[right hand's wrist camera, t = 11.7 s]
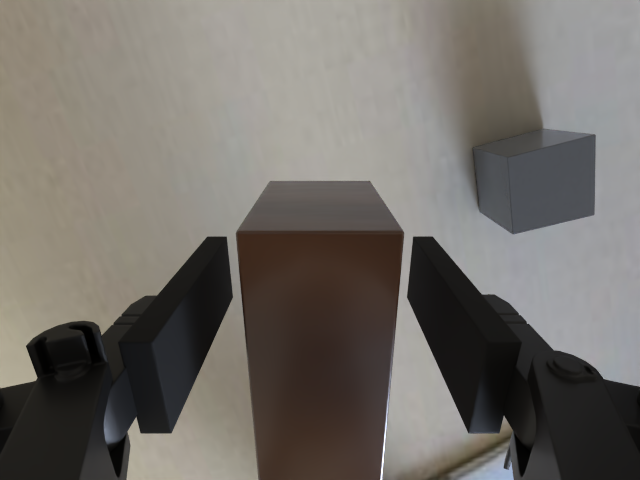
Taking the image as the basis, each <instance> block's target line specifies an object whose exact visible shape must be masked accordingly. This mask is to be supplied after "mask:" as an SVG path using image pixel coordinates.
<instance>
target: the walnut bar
mask: <svg viewBox="0 0 640 480" xmlns="http://www.w3.org/2000/svg"><path fill="white" fill-rule="evenodd" d="M236 240H237V251H238V262H239V273H240V284H241V294H242V305H243V316H244V327H245V338H246V349H247V360H248V371H249V381H250V392H251V403H252V414H253V425H254V436H255V447H256V458H257V469H258V479H259V480H382V474H383V463H384V452H385V441H386V430H387V419H388V408H389V396H390V385H391V374H392V363H393V352H394V341H395V330H396V318H397V307H398V296H399V285H400V274H401V263H402V252H403V240H404V232H403V230H402V228H401V227H400V225H399V224H398V222H397V221H396V219H395V218H394V216H393V215H392V213H391V212H390V210H389V209H388V207H387V206H386V204H385V203H384V201H383V200H382V198H381V197H380V195H379V194H378V192H377V191H376V190H375V188H374V187H373V185H372V184H371V182H370V181H270V182H269V183H268V185H267V186H266V188H265V189H264V191H263V192H262V194H261V195H260V197H259V198H258V200H257V201H256V203H255V205H254V206H253V208H252V209H251V211H250V212H249V214H248V215H247V217H246V218H245V220H244V221H243V223H242V224H241V226H240V227H239V229H238V230H237V232H236Z"/></svg>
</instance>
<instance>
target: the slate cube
mask: <svg viewBox="0 0 640 480" xmlns="http://www.w3.org/2000/svg"><path fill="white" fill-rule="evenodd" d="M595 137H596V135H595V134H586V133H577V132H568V131H559V130H550V129H541V130H537V131H533V132H530V133H526V134H522V135H518V136H515V137H511V138H507V139H503V140H499V141H496V142H492V143H488V144H484V145H481V146H477V147H473V154H474V163H475V172H476V182H477V191H478V200H479V209H480V212H481V213H482V214H484V215H485V216H487V217H488V218H489V219H491V220H492V221H494V222H495V223H497V224H498V225H500V226H501V227H503V228H504V229H506V230H507V231H509V232H510V233H512V234H517V233H521V232H525V231H529V230H534V229H538V228H542V227H546V226H550V225H554V224H559V223H563V222H567V221H571V220H575V219H580V218H584V217H588V216H592V215H594V204H595Z"/></svg>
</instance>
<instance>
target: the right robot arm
mask: <svg viewBox="0 0 640 480" xmlns="http://www.w3.org/2000/svg"><path fill="white" fill-rule="evenodd" d="M232 298H233V294H232V284H231V274H230V265H229V255H228V245H227V237H207V238H206V239H205V240H204V241H203V242H202V244H201V245H200V246H199V247H198V248H197V249H196V251H195V252H194V253H193V254H192V255H191V257H190V258H189V259H188V260H187V261H186V262H185V264H184V265H183V266H182V267H181V268H180V269H179V271H178V272H177V273H176V274H175V275H174V277H173V278H172V279H171V280H170V281H169V282H168V284H167V285H166V286H165V287H164V288H163V290H162V291H161V292H160V293H159V294H158V295H157V296H145V297H143V298H141V299H140V300H138V301H136V302H135V303H133V304H131V305H130V306H129V307H128V308H127V309H126V310H125V312H124V313H123V314H122V316H121V317H119V318H118V319H117V320H116V321H115V322H114V325H111V326H110V327H109V329H108V330H107V331H106V332H105V333H104V334H103V335H102V336H101V332H100V328H99V326H98V325H97V324H95V323H94V322H89V321H77V322H69V323H66V324H62V325H58V326H56V327H53V328H51V329H48V330H46V331H44V332H42V333H41V334H39V335H38V336H36V337H35V338H33V339H32V340H31V341H30V342H29V343H28V344H27V346H26V347H27V350H28V353H29V356H30V358H31V361H32V364H33V366H34V369H35V372H36V375H37V377H38V378H37V380H36V381H34V382H29V383H24V384H20V385H15V386H10V387H5V388H1V389H0V480H126V478H127V469H128V461H129V453H130V441H129V436H128V432H127V431H128V430H129V428H130V426H131V424H132V423H133V421H134V419H135V418H136V416H137V420H138V424H139V428H140V432H141V433H172V431H173V429H174V426H175V424H176V422H177V420H178V418H179V415H180V413H181V411H182V409H183V407H184V404H185V402H186V400H187V398H188V395H189V393H190V391H191V389H192V387H193V384H194V382H195V380H196V378H197V375H198V373H199V371H200V369H201V367H202V364H203V362H204V360H205V358H206V356H207V353H208V351H209V349H210V347H211V344H212V342H213V340H214V338H215V336H216V333H217V331H218V329H219V327H220V325H221V322H222V320H223V318H224V316H225V313H226V311H227V309H228V307H229V305H230V302H231V300H232ZM407 298H408V300H409V302H410V305H411V307H412V309H413V311H414V313H415V316H416V318H417V320H418V322H419V325H420V327H421V329H422V331H423V333H424V336H425V338H426V340H427V342H428V344H429V347H430V349H431V351H432V353H433V356H434V358H435V360H436V362H437V364H438V367H439V369H440V371H441V373H442V375H443V378H444V380H445V382H446V384H447V387H448V389H449V391H450V393H451V395H452V398H453V400H454V402H455V404H456V407H457V409H458V411H459V413H460V415H461V418H462V420H463V422H464V424H465V426H466V429H467V431H468V433H499V432H500V428H501V424H502V420H503V416H505V418H506V419H507V421H508V423H509V424H510V426H511V428H512V429H513V432H512V436H511V440H510V443H509V447H508V451H507V455H506V458H505V463H504V469H508V470H509V467H510V464H511V462H512V468H513V477H514V480H640V387H638V386H633V385H628V384H623V383H618V382H614V381H609V380H605V379H603V377H602V376H601V375H600V373H599V372H598V371H597V370H596V369H595V368H594V367H593V366H591V365H590V364H589V363H587V362H586V361H584V360H582V359H580V358H578V357H576V356H574V355H571V354H568V353H564V352H561V351H554V350H553V349H552V348H551V347H550V346H549V345H548V344H547V343H546V342H545V341H544V340H543V339H542V337H541V336H540V335H539V334H538V333H537V332H536V331H535V330H534V329H533V328H532V327H531V326H530V325H529V324H527V322H526V321H525V320H524V318H523V317H522V316H521V315H519V313H518V312H517V311H516V310H515V309H514V308H513V307H512V306H511V305H510V304H509V303H508V302H506V301H504V300H503V299H501V298H499V297H498V296H496V295H482V294H481V293H480V292H479V291H478V290H477V288H476V287H475V286H474V285H473V284H472V282H471V281H470V280H469V279H468V278H467V277H466V275H465V274H464V273H463V272H462V271H461V269H460V268H459V267H458V266H457V265H456V264H455V262H454V261H453V260H452V259H451V258H450V257H449V255H448V254H447V253H446V252H445V251H444V249H443V248H442V247H441V246H440V245H439V244H438V242H437V241H436V240H435V239H434V238H433V237H413V245H412V255H411V265H410V274H409V284H408V294H407Z"/></svg>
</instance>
